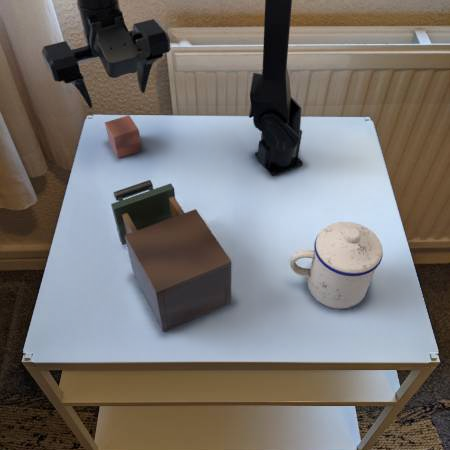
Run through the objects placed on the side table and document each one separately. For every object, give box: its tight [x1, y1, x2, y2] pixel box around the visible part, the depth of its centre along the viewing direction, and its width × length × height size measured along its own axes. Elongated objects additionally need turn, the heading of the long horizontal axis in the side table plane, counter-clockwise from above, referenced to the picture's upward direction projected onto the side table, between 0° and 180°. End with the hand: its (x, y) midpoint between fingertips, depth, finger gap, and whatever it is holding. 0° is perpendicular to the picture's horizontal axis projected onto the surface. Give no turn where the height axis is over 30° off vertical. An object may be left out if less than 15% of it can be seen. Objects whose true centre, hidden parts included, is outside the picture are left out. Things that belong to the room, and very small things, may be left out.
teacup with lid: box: [289, 221, 384, 310], centre depth 70 cm, size 12×9×12 cm
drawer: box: [110, 179, 185, 246], centre depth 75 cm, size 14×9×8 cm, turn 28°
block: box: [104, 115, 143, 159], centre depth 90 cm, size 5×5×5 cm
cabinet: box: [125, 208, 233, 333], centre depth 70 cm, size 11×11×10 cm
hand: (116, 99), depth 84 cm, fingers open, 9 cm apart
